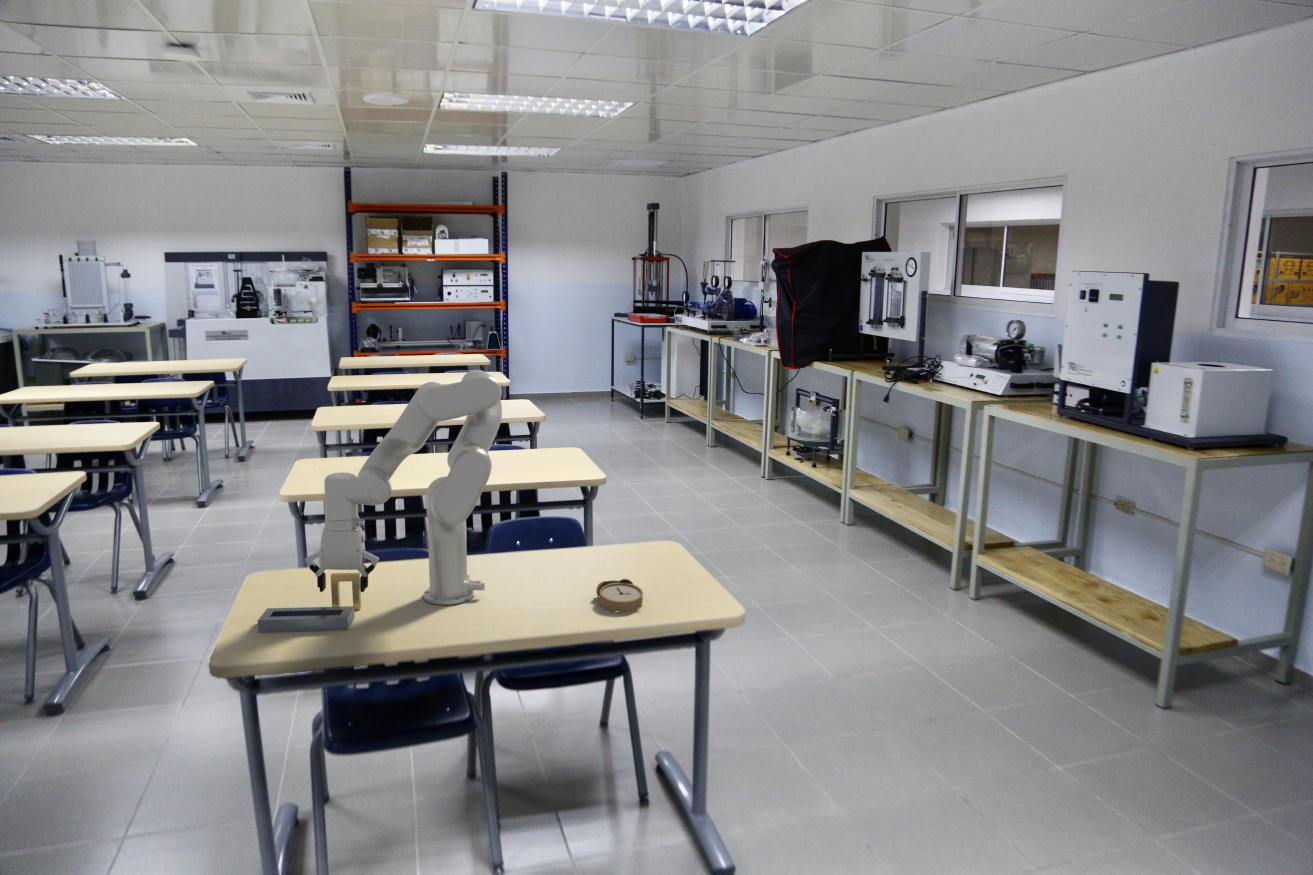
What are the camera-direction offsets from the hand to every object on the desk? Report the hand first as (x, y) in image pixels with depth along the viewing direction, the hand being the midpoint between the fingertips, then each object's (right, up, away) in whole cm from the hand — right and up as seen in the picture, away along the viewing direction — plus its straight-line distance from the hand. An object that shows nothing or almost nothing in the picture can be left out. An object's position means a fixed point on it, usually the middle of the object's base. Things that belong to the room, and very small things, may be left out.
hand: (343, 590), depth 209 cm
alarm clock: (+68, -5, +11) cm, 69 cm away
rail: (-5, -7, -8) cm, 12 cm away
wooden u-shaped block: (0, -5, +1) cm, 5 cm away
